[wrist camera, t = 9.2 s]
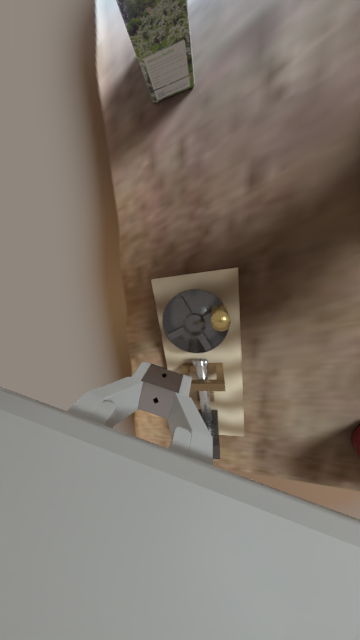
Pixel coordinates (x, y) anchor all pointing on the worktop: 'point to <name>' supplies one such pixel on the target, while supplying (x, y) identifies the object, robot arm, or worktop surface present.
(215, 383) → the eye post
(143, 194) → the worktop surface
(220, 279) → the board
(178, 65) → the syrup box
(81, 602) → the robot arm
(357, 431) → the canister
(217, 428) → the hammer
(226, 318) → the handwheel
